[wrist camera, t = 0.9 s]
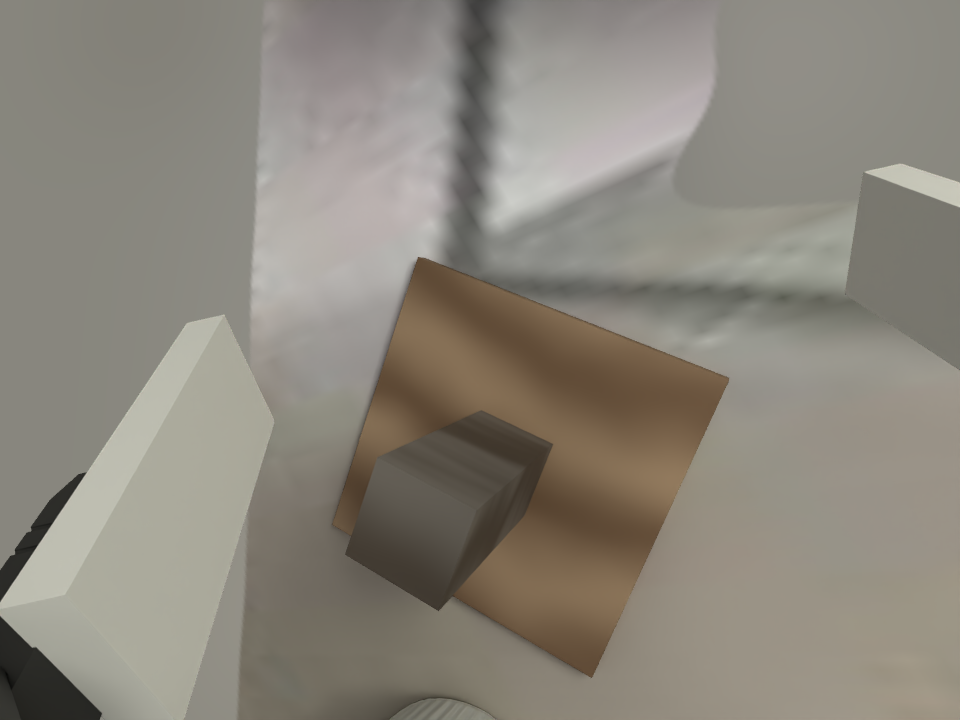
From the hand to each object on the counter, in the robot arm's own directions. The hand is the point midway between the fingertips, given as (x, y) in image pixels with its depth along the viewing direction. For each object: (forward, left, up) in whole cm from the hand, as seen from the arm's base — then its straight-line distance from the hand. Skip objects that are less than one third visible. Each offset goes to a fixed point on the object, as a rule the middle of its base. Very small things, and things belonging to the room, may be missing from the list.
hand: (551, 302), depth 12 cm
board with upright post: (+10, -3, -17) cm, 20 cm away
